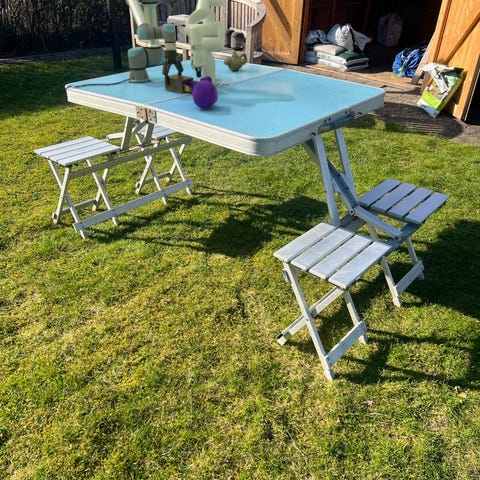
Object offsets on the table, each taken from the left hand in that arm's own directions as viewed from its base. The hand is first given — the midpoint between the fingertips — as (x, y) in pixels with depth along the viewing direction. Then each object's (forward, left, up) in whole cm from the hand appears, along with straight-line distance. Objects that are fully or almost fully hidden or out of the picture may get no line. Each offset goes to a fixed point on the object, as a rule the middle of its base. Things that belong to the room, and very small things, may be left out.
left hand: (174, 83), depth 309 cm
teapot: (+60, +52, -4) cm, 80 cm away
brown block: (+3, -4, -4) cm, 6 cm away
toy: (+7, -53, -4) cm, 53 cm away
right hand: (+14, -18, +6) cm, 24 cm away
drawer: (+9, -13, -3) cm, 17 cm away
